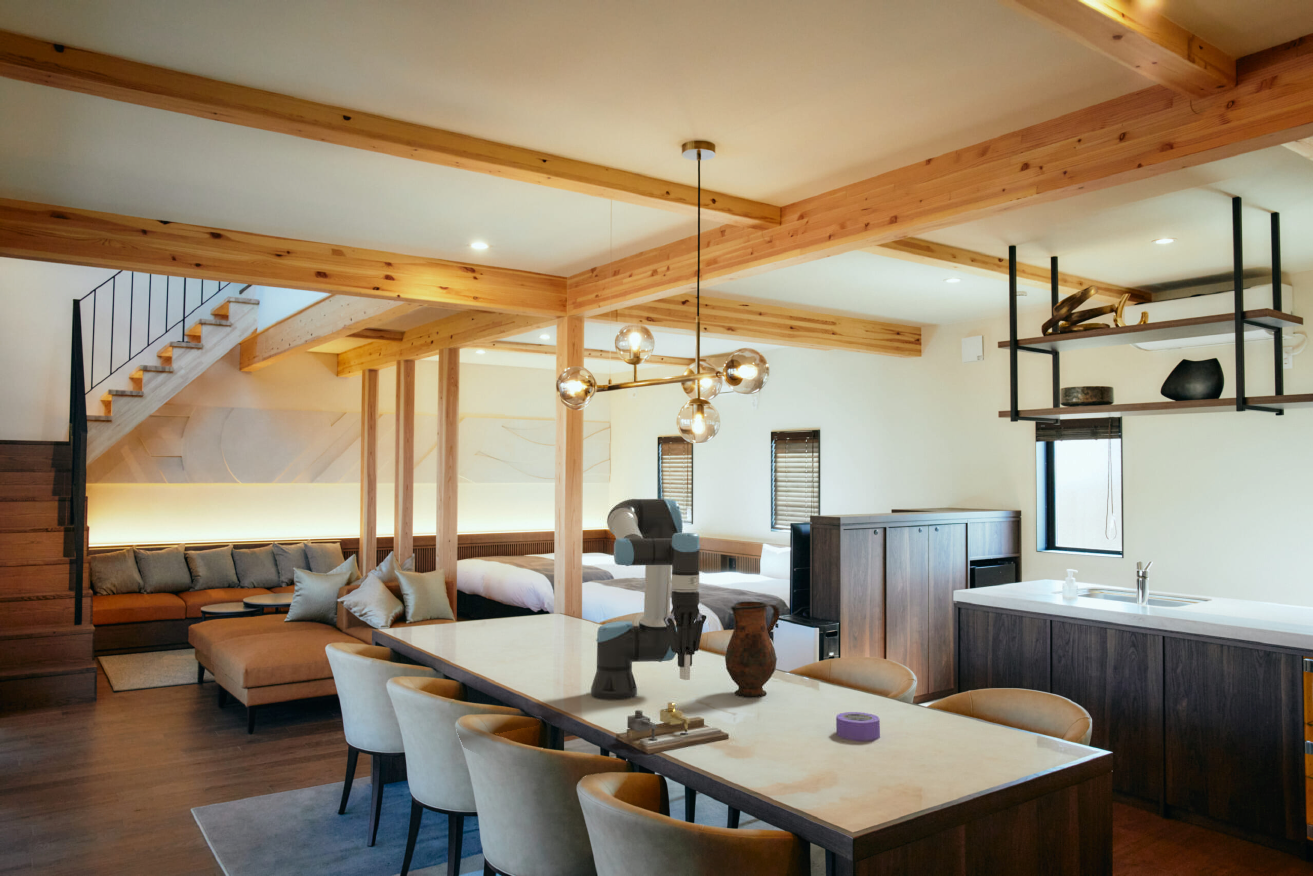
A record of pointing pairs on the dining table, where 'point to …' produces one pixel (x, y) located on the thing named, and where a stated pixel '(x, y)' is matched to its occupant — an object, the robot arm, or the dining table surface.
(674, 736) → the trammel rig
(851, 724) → the tape roll
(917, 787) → the dining table surface
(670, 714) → the sliding head
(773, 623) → the pitcher
